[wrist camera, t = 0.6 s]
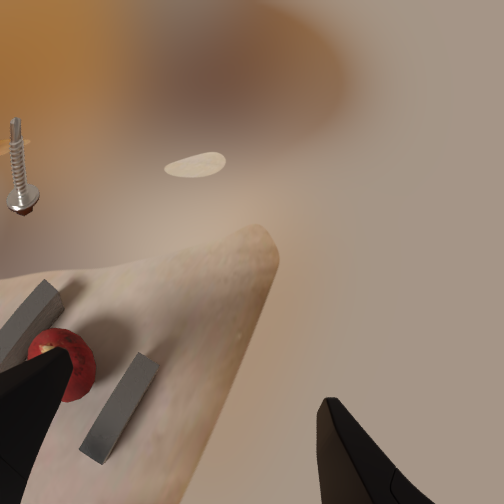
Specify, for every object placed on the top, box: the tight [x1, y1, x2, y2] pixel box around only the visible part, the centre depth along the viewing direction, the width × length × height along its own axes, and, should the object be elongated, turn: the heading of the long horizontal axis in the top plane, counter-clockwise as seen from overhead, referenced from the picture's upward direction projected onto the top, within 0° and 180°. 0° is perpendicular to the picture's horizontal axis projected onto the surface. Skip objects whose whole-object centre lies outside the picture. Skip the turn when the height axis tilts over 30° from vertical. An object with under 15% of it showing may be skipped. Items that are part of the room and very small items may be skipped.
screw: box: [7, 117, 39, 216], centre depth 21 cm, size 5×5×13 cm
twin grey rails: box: [0, 279, 159, 465], centre depth 17 cm, size 10×13×4 cm
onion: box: [28, 328, 96, 402], centre depth 16 cm, size 6×6×8 cm
